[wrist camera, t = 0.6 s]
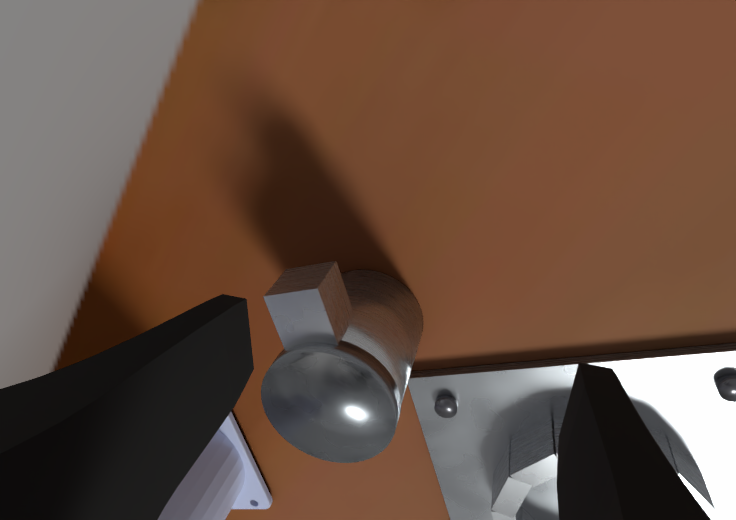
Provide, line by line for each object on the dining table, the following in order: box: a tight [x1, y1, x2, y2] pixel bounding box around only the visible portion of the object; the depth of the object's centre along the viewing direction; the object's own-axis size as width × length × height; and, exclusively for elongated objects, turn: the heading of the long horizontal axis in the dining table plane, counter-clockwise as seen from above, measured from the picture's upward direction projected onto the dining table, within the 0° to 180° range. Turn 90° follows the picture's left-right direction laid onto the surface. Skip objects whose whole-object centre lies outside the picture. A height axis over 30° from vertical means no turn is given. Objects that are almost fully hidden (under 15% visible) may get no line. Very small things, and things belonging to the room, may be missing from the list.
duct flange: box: [408, 343, 736, 520], centre depth 24 cm, size 14×14×2 cm
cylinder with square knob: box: [261, 261, 423, 463], centre depth 21 cm, size 5×7×6 cm
